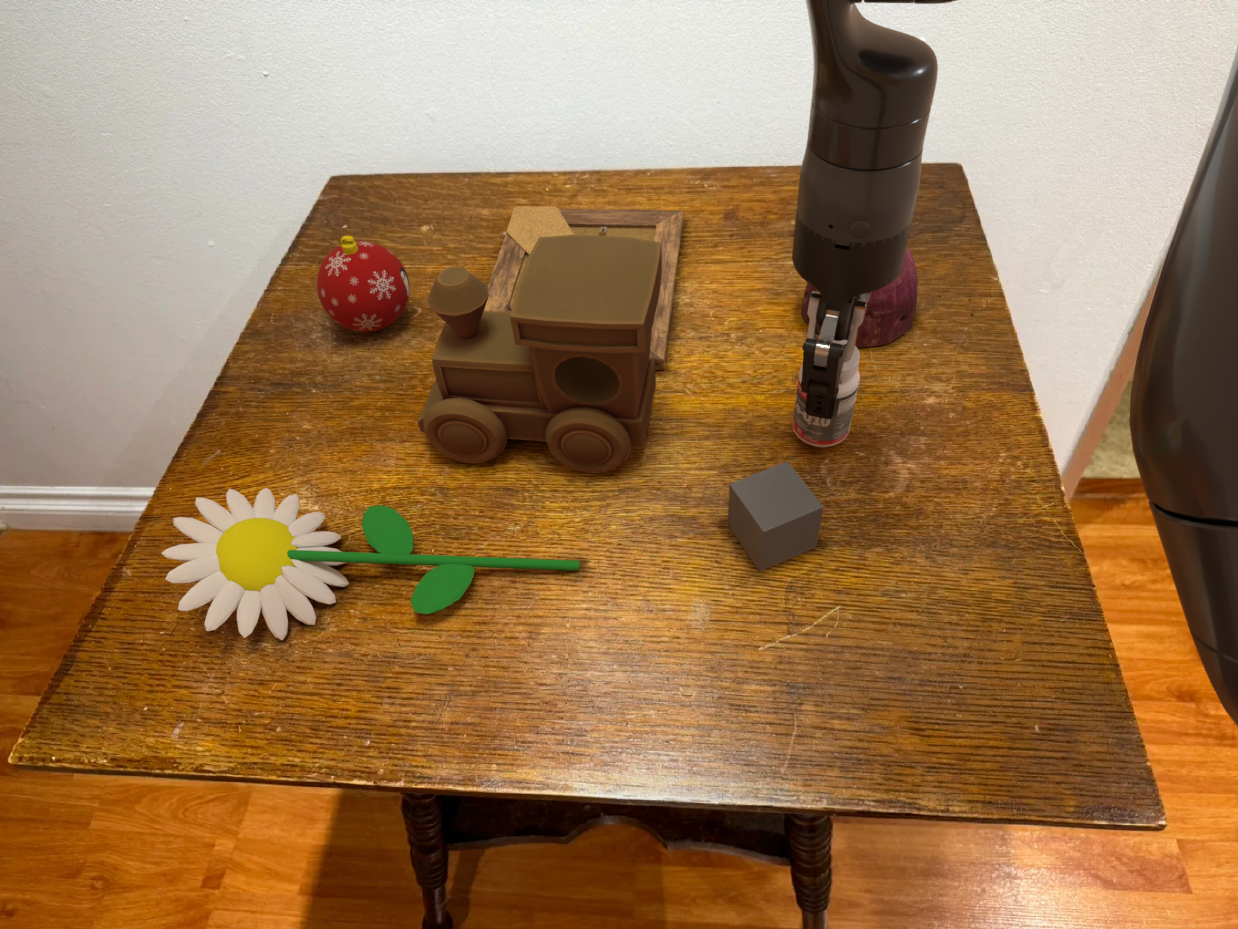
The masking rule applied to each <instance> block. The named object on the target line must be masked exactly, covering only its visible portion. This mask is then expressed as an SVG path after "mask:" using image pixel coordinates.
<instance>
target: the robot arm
mask: <svg viewBox="0 0 1238 929" xmlns="http://www.w3.org/2000/svg"><path fill="white" fill-rule="evenodd" d="M956 1H958V0H805V5H806V10H807V16H808V22H809V29H810V37H811V45H812V59H813V60H812V61H813V62H812V63H813V64H812V65H813V67H812V68H813V75H812V89H811V90H812V92H811V101H810V111H809V119H808V130H807V139H806V147H805V150H804V155H803V158H802V163H801V166H800V172H799V179H798V180H799V182H798V192H797V201H796V211H795V223H794V233H793V242H792V250H791V252H792V253H791V260H792V264H793V267H794V269H795V272H796V273H797V274H798V275H799V276H800V277H801V278H802V279H803V280H804V281H805V282H806V283H807V282H808V283H809V284H811V285H812V286H813V287H815V288H816V292H815V291H812V293H811V296H810V300H809V306H808V312H807V314H808V316H809V318H810V321H809V325H807V326H808V327H807V332H806V338H805V342H803V344H802V351H803V354H802V365H803V368H802V381H801V386H800V387H801V392H804V393H807V398H806V406H805V413H806V414H807V415H809V416H814V417H818V418H823V419H831V418H832V417H833V415H834V411H835V406H836V400H837V394H838V391H839V385H840V384H842V381H843V378H841V377H842V372H843V367H844V363H845V362H848V361H849V360H850V359H851V357H852V355H853V352H854V348H855V343H856V338H857V333H858V329H859V326H860V325H861V324H862V322H863V319H864V317H865V312H866V308H867V302H869V300H870V297H871V293H872V292H873V291H876V290H879V289H881V288H883V287H885V286H887V285H888V284H890V283H891V282H892V281H893V280H894V279H895V278H896V277H897V276H898V274H899V273H900V271H901V269H902V266H903V261H904V256H905V252H906V247H907V246H908V241H909V237H910V232H911V227H912V223H913V218H914V213H915V208H916V205H917V199H918V195H919V190H920V185H921V178H922V162H923V161H922V160H923V151H924V144H925V141H926V140H925V139H926V134H927V129H928V125H929V120H930V115H931V109H932V106H933V103H934V97H935V94H936V93H935V92H936V87H937V82H938V73H939V72H938V70H939V64H938V59H937V55H936V52H935V51H934V50H933V49H932V47H931V46H930V45H929V44H928V43H927V42H925V41H924V40H921V39H920V38H918V37H916V36H914V35H911V34H909V33H906V32H902V31H899V30H897V29H896V30H895V29H894V28H893V29H892V28H889V27H885V26H882V25H880V24H877V23H874V22H873V21H871V20H869V19H866V17H864V16H863V14H862V13H861V12H860V10H859V8H858V6H857V5H856V4H861V3H862V2H864V3H865V4H915V5H940V4H948V3H953V2H956ZM1232 60H1233V61H1232V64H1231V67H1230V69H1229V73H1228V76H1227V79H1226V83H1225V86H1224V88H1223V92H1222V95H1221V98H1220V101H1219V104H1218V108H1217V111H1216V114H1215V117H1214V120H1213V123H1212V125H1211V128H1210V131H1209V134H1208V136H1207V139H1206V142H1205V145H1204V147H1203V150H1202V153H1201V155H1200V159H1199V162H1198V164H1197V166H1196V170H1195V172H1194V174H1193V178H1192V179H1191V183H1190V186H1189V189H1188V191H1187V194H1186V197H1185V200H1184V203H1183V206H1182V208H1181V210H1180V214H1179V217H1178V219H1177V222H1176V225H1175V227H1174V231H1173V234H1172V237H1171V239H1170V242H1169V245H1168V247H1167V250H1166V253H1165V257H1164V259H1163V261H1162V265H1161V268H1160V271H1159V275H1158V278H1157V281H1156V284H1155V288H1154V291H1153V295H1152V298H1151V301H1150V305H1149V308H1148V311H1147V313H1146V314H1147V315H1146V317H1145V320H1144V324H1143V328H1142V333H1141V337H1140V341H1139V345H1138V349H1137V353H1136V358H1135V364H1134V372H1133V377H1132V383H1131V390H1130V400H1129V422H1128V426H1129V432H1130V434H1129V435H1130V442H1131V449H1132V453H1133V456H1134V459H1135V463H1136V467H1137V471H1138V473H1139V477H1140V480H1141V483H1142V487H1143V490H1144V493H1145V495H1146V497H1147V499H1148V505H1149V510H1150V512H1151V515H1152V519H1153V522H1154V524H1155V527H1156V531H1157V534H1158V537H1159V540H1160V543H1161V547H1162V550H1163V553H1164V555H1165V559H1166V563H1167V565H1168V568H1169V571H1170V574H1171V577H1172V580H1173V583H1174V587H1175V590H1176V593H1177V597H1178V599H1179V602H1180V605H1181V608H1182V612H1183V615H1184V619H1185V622H1187V623H1186V624H1187V627H1188V629H1189V632H1190V636H1191V639H1192V641H1193V644H1194V647H1195V648H1196V652H1197V654H1198V657H1199V659H1200V661H1201V664H1202V666H1203V669H1204V672H1205V673H1206V676H1207V678H1208V680H1209V682H1210V685H1211V687H1212V688H1213V690H1214V692H1215V694H1216V696H1217V698H1218V700H1219V701H1220V704H1221V705H1222V707H1223V709H1224V710H1225V712H1226V713H1227V714H1228V716H1229V718H1230V719H1231V721H1232V722H1233V723H1234V724H1235V726H1236V727H1237V728H1238V45H1236V51H1235V53H1234V56H1233V59H1232ZM817 330H818V333H817ZM817 334H818V337H817ZM834 340H836V341H842V340H848V341H847V344H845V345H843V344H837V343H834Z"/></svg>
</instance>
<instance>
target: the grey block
mask: <svg viewBox="0 0 1238 929" xmlns="http://www.w3.org/2000/svg"><path fill="white" fill-rule="evenodd" d="M824 508H825V507H824V505H823V504H822V503H821V501H820V500H819V499H818V497H817V496H816V495H815V494H814V492H813V491H812V490H811V488H809V486H808V485H807V484H806V483H805V480H803V478H802V477H801V476H800V475H799V473H798V472H797V471H796V469H794V467H793V466H792V465H791V464H790V462H789V461H788V460H786V461H784V462H781V463H779V464H776V465H774V466H771V467H768V468H767V469H764V470H761V471H759V472H756V473H754V474H750V475H749V476H746V477H744V478H742V479H739V480H736V481H734V482H731V483H729V488H728V510H727V526H728V527H729V529H730V531H731V532H732V533H733V535H734V536H735V537H736V539H737V541H738V542H739V544H740V546H742V548H743V549H744V551H745V552H746V554H747V555H748V556H749V558H750V560H751V561H752V563H753V564H754V565H755V567H756V568H757V569H758V571H759V572H762V571H764V570H767V569H769V568H771V567H774V566H776V565H778V564H781V563H783V562H786V561H788V560H790V559H793V558H795V557H797V556H800V555H802V554H804V553H806V552H809V551H811V550H813V549H816V548H817V547H818V542H819V536H820V530H821V524H822V520H823V512H824Z"/></svg>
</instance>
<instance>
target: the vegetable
mask: <svg viewBox="0 0 1238 929" xmlns="http://www.w3.org/2000/svg"><path fill="white" fill-rule="evenodd" d="M918 280H919V279H918V270H917V265H916V261H915V259H914V256H913V254H912V252H911V250H910V248H909V247H908V245H907V247H906V252H905V256H904V261H903V266H902V269H901V271H900V273H899V274H898V276H897V277H896V278H895V279H894V280H893V281H892V282H891V283H890V284H888V285H887V286H885V287H883V288H881V289H879V290H876V291H873V292H872V293H871V297H870V300H869V302H867V308H866V312H865V317H864V319H863V322H862V324H861V325H860V326H859V329H858V333H857V338H856V343H855V346H856V347H857V348H858V349H863V348H868V347H869V348H871V347H878V346H883V345H886V344H890V343H892V342H894V341H896V340H897V339H899V337H901V336H903V334H904V333H905V332H907V331H908V330H909V329H910V328H912V325H913V323H914V320H915V314H916V309H917V303H918V302H917V301H918V288H919V287H918V286H919V285H918V284H919V282H918ZM806 283H807V284H806V286H805V289H804V294H803V298H802V304H801V309H800V310H801V311H800V314H801V316H802V320H803V322H805V323H806V324H807V326H809V321H810V318H809V316H808V314H807V312H808V306H809V300H810V296H811V293H812V291H815V292H816V288H815V287H813V286H812V285H811V284H809V283H808V282H806ZM816 334H818V330H817V332H816Z"/></svg>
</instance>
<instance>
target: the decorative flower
mask: <svg viewBox="0 0 1238 929" xmlns="http://www.w3.org/2000/svg"><path fill="white" fill-rule="evenodd" d="M225 498H226V505H227V507H228V510H229V511H228V510H227V509H226V508H225V507H223V506H222V505H221V504H219V503H218V502H216V501H215V500H212V499H209V498H206V497H195V502H194V506H195V507H196V508H197V510H198V512H199V514H200V515H201V516H202V517H203V518H204V519H205V520H206V521H207V522H208V523H206V522H204V521H202V520H199V519H196V518H194V517H187V516H186V517H185V516H178V517H174V518H173V517H172V523H173V526H174V527H175V528H176V529H177V530H178V531H180V532H181V533H182V534H183V535H184V536H186V537H188V538H189V539H192V540H193V541H195V542H194V543H181V544H176V545H174V546H171V547H168V548H166V549H164V550H163V551H162V552H161V553H160V554H161V555H162V556H163V557H165V558H166V559H170V560H174V561H180V562H184V563H181V564H180V565H178V566H177V567H175V568H173V569H172V570H170V571H168V573H167V575H166V577H165V580H166V581H168V582H169V583H171V584H189V583H195V582H197V583H196V584H195V585H193V586H192V587H191V588H190V589H189V590H188V591H187V592H186V593H185V594H184V595H183V596H182V598H181V599H180V600H179V602H178V611H183V612H189V611H192V610H196V609H199V608H202V607H203V606H205V605H206V604H208V603H210V602H211V604H210V606H209V607H208V609H207V613H206V615H205V619H204V623H203V624H204V628H205V630H206V632H211V631H215V630H217V629H218V628H220V627H221V626H222V625H223V624H224V623H225V622H226V621H227V620H228V619H229V618H230V616H231V615H232V614H233V613H234V611H236V624H237V630H238V633H239V634H240V635H241V636H242V637H243V638H244V639H245V638H247V637H248V636H249V635H251V634H252V633H253V631H254V629H255V628H256V627H257V624H258V621H259V618H260V613H262V616H263V618H264V621H265V623H266V626H267V627H268V630H269V631H270V632H271V634H272V635H273V636H274V638H275V639H278V640H280V641H284V639H285V638H286V637H287V636H288V629H289V620H288V612H289V614H291V615H292V616H293V617H294V618H295V619H296V620H298V621H300V622H301V623H303V624H304V625H307V626H315V625H316V621H317V615H316V612H315V610H314V607H313V604H312V603H311V602H310V600H309V599H308V598H310V599H311V600H314V601H315V602H318V603H321V604H326V605H332V604H335V603H337V600H336V594H334V592H333V590H331V589H330V587H329V586H332V587H341V588H345V587H347V586H349V585H350V582H349V581H348V579H347V578H346V577H345V576H344V575H343V574H342V573H341V572H340V571H339V570H337V569H336V568H333V567H336V566H340V565H344V564H349V563H350V564H351V563H352V564H375V565H376V564H377V565H401V566H402V565H403V566H404V565H406V566H429V567H430V566H435V567H433V568H432V569H430V570H429V571H427V572H426V573H425V574H424V576H422V578H421V579H420V581H419V582H418V583H417V584H416V585H415V588H414V591H413V593H412V596H411V599H410V603H411V607H412V609H413V612H414V613H417V614H423V615H430V614H434V613H438V612H439V613H440V612H443V611H444V610H445V609H448V607H450V606H452V605H453V604H454V603H456V602H457V601H459V600H460V599H461V598H462V597H463V596H464V594H465V593H466V591H467V590H468V589H469V588H470V586H471V583H472V581H473V577H474V575H475V573H476V569H475V568H485V569H486V568H488V569H511V570H512V569H513V570H514V569H515V570H516V569H517V570H538V571H539V570H544V571H569V572H580V560H577V559H575V560H574V559H573V560H572V559H551V558H545V559H544V558H521V557H520V558H518V557H493V556H467V555H466V556H465V555H441V554H439V555H438V554H416V553H415V554H414V553H413V554H412V553H411V552H412V551H413V550H414V534H413V531H412V528H411V527H410V523H409V522H408V520H407V519H406V518H405V517H403V516H402V515H401V514H400V513H399V511H397V510H395V509H394V508H392V507H389V506H386V505H383V504H382V505H370V506H369V507H368V508H367V509H366V511H365V512H364V513H363V514H362V522H361V527H362V531H363V534H364V537H365V539H366V542H367V543H368V544H369V545H370V546H371V548H373V549H374V550H375V551H376V552H358V551H357V552H356V551H341V550H339V549H338V548H334V547H328V546H330V545H333V544H336V543H337V542H338V541H340V540H341V539H342V535H341V534H339V533H338V532H335V531H326V530H323V531H322V530H319V531H316V529H318V528H319V527H320V526H321V525H322V524H323V523H324V520H325V518H326V515H325V513H324V512H320V511H313V512H308V513H305V514H303V515H301V516H299V517H297V515H298V513H299V510H300V507H301V506H300V498H299V496H298V494H297V493H294V494H290V495H289V494H288V496H287V497H285V498H283V499H282V500H281V502H280V504H279V505H278V507H276V499H275V496H274V494H273V492H272V491H271V490H270V488H268V487H264V488H263V489H261V490H259V491H258V493H257V495H256V497H255V500H254V503H253V506H252V504H251V503H250V502H249V500H248V499H247V498H246V496H245V495H243V494H242V493H240V492H239V491H238V490H236V489H234V488H233V489H232V488H228V490H227V491H226V493H225ZM328 585H329V586H328ZM287 611H288V612H287Z"/></svg>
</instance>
